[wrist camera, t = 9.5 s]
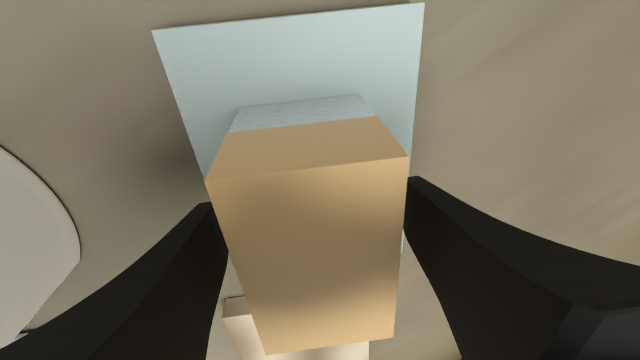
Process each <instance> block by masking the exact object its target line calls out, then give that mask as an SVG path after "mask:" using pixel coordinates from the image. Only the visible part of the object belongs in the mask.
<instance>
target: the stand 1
mask: <svg viewBox="0 0 640 360" xmlns="http://www.w3.org/2000/svg"><path fill="white" fill-rule="evenodd" d="M424 5H425V2H414V3H401V4H391V5H381V6H372V7H362V8H352V9H342V10H333V11H323V12H313V13H303V14H294V15H284V16H274V17H264V18H254V19H245V20H235V21H225V22H215V23H206V24H196V25H186V26H176V27H167V28H161V29H156V30H151V32H152V35H153V38H154V40H155V43H156V46H157V49H158V52H159V54H160V57H161V60H162V63H163V66H164V69H165V71H166V74H167V77H168V80H169V83H170V86H171V88H172V91H173V94H174V97H175V100H176V102H177V105H178V108H179V111H180V114H181V117H182V119H183V122H184V125H185V128H186V131H187V133H188V136H189V139H190V142H191V145H192V148H193V150H194V153H195V156H196V159H197V162H198V164H199V167H200V170H201V173H202V176H203V179H204V180H205V178H206V176H207V174H208V172H209V169H210V167H211V165H212V163H213V161H214V159H215V157H216V155H217V153H218V151H219V149H220V146H221V144H222V142H223V140H224V138H225V136H226V134H227V133H228V131H229V129H230V127H231V125H232V123H233V121H234V119H235V117H236V114H237V112H238V110H239V108H240V106H248V105H257V104H266V103H275V102H284V101H293V100H302V99H311V98H320V97H329V96H338V95H346V94H355V93H359V94H360V95H361V97H362V98H363V99H364V101H365V102H366V103H367V104H368V106H369V107H370V108H371V109H372V111H373V112H374V113H375V115H376V116H378V117H379V118H380V120H381V121H382V122H383V124H384V125H385V126H386V127H387V129H388V130H389V131H390V132H391V134H392V135H393V136H394V137H395V139H396V140H397V141H398V142H399V144H400V145H401V146H402V148H403V149H404V150H405V151H406V153H407V154H408V155H409V167H408V177H409V168H410V158H411V147H412V136H413V125H414V114H415V103H416V92H417V82H418V71H419V60H420V49H421V38H422V27H423V16H424ZM403 234H404V230H403V233H402V244H403ZM401 252H402V245H401Z"/></svg>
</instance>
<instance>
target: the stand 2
mask: <svg viewBox="0 0 640 360" xmlns="http://www.w3.org/2000/svg"><path fill="white" fill-rule="evenodd" d="M222 320H223V322H224V324H225V327H226V329H227V331H228V333H229V336H230V338H231V340H232V342H233V344H234V347H235V349H236V351H237V353H238V355H239V358H240V360H369V341H365V342H358V343H351V344H344V345H337V346H330V347H323V348H315V349H308V350H301V351H294V352H287V353H280V354H273V355H265V352H264V349H263V346H262V343H261V340H260V338H259V335H258V332H257V329H256V326H255V324H254V321H253V318H252V315H251V312H250V309H249V307H248V304H247V301H246V298H245V296H242V297H234V298H227V299H226V300H225V305H224V310H223V314H222Z"/></svg>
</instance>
